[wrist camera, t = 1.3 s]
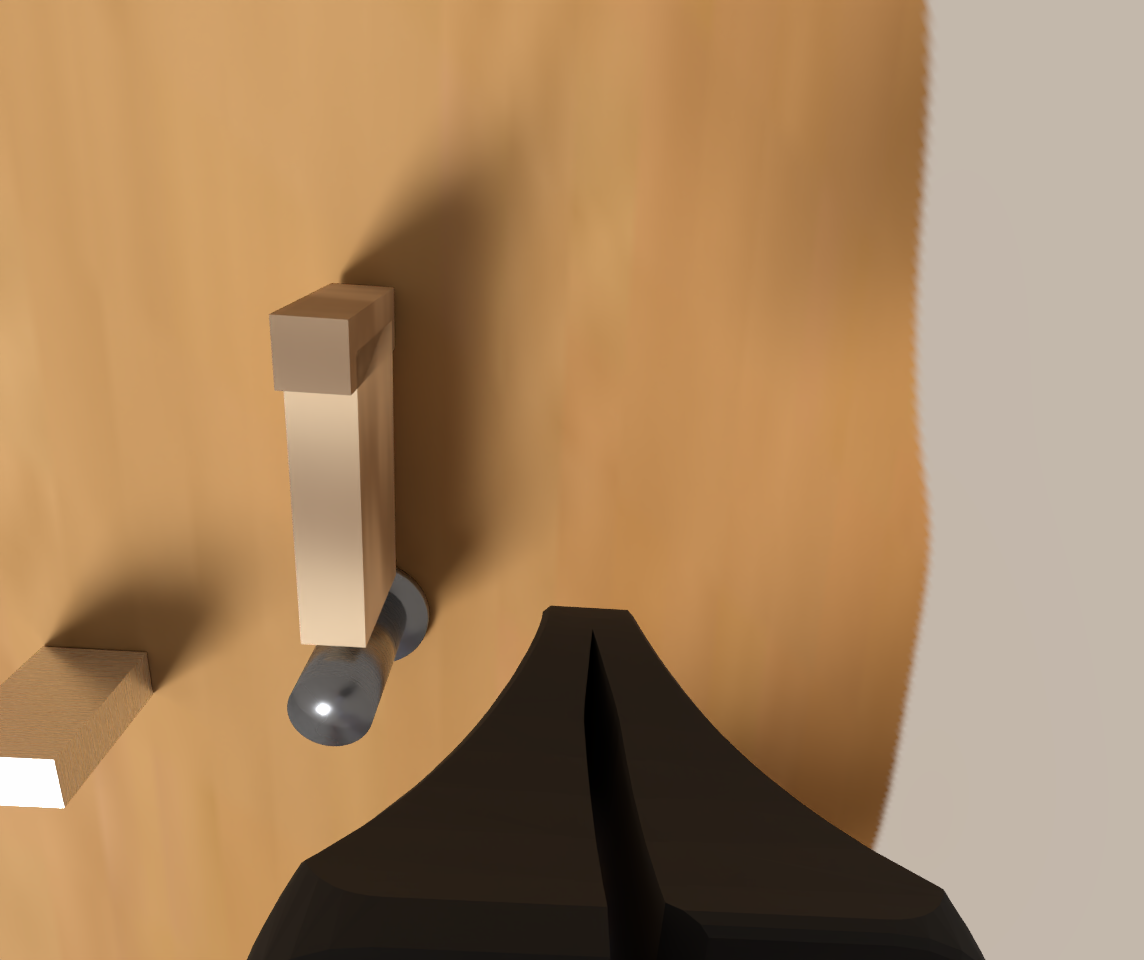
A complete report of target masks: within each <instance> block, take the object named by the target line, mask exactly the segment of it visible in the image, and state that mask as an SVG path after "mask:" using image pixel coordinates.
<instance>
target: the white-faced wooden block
mask: <svg viewBox="0 0 1144 960" xmlns="http://www.w3.org/2000/svg"><path fill="white" fill-rule="evenodd" d="M152 695H153V691H152V684H151V678H150V671H149V665H148V659H147V652H132V651H114V650H95V649H77V648H59V647H42V648H41V649H39V650H38V651H37V652H36V653H35V654H34V655H33V656H32V657H31V658H30V659H29V660H28V661H26V662H25V663H24V664H23V665H22V666H21V667H20V668H19V669H18V670H17V671H16V672H14V673H13V674H12V675H11V676H10V677H9V678H8V679H7V680H6V681H5V682H4V683H2V684H1V685H0V805H13V806H34V807H55V808H65V806H66V805H67V804H68V803H69V801H70V800H71V799H72V797H73V796H74V795H75V794H76V792H77V791H78V790H79V788H80V787H81V786H82V785H83V783H84V782H85V781H86V779H87V778H88V777H89V776H90V774H91V773H92V772H93V771H94V769H95V768H96V767H97V765H98V764H99V763H100V762H101V760H102V759H103V758H104V756H105V755H106V754H107V753H108V751H109V750H110V749H111V748H112V746H113V745H114V744H115V742H116V741H117V740H118V739H119V737H120V736H121V735H122V733H123V732H124V731H125V730H126V728H127V727H128V726H129V724H130V723H131V722H132V721H133V719H134V718H135V717H136V716H137V714H138V713H139V712H140V710H141V709H142V708H143V707H144V705H145V704H146V703H147V701H148V700H149V699H150V698H151V696H152Z"/></svg>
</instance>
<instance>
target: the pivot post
mask: <svg viewBox="0 0 1144 960" xmlns="http://www.w3.org/2000/svg"><path fill="white" fill-rule="evenodd" d="M429 616H430V612H429V605H428V601H427V598H426V596H425V594H424V592H423V590H422V589H421V587H420V586H419V584H418V583H417V582H416V581H415V580H414V579H413V578H412V577H410V576H409V575H408V574H407V573H405V572H403V571H402V570H400V569H398V568H396V576H395V578H394V581H393V583H392V586H391V588H390V590H389V593H388V595H387V598H386V600H385V602H384V605H383V607H382V610H381V612H380V614H379V617H378V619H377V622H376V624H375V626H374V629H373V631H372V634H371V636H370V639H369V641H368V643H367V646H366V648H363V647H345V646H327V645H316V647H315V649H314V651H313V653H312V654H311V656H310V658H309V660H308V662H307V664H306V666H305V668H304V670H303V672H302V674H301V676H300V678H299V679H298V681H297V683H296V685H295V687H294V689H293V691H292V693H291V695H290V697H289V700H288V704H287V711H288V716H289V719H290V721H291V723H292V724H293V726H294V727H295V729H296V730H297V731H298V732H299V733H300V734H301V735H303V736H304V737H306V738H307V739H309V740H311V741H313V742H315V743H318V744H322V745H327V746H343V745H348V744H351V743H353V742H355V741H357V740H359V739H360V738H362V737H363V736H364V735H365V734H366V733H367V732H368V730H369V729H370V727H371V724H372V722H373V719H374V716H375V713H376V710H377V707H378V704H379V701H380V699H381V696H382V693H383V690H384V687H385V684H386V681H387V678H388V676H389V673H390V670H391V667H392V664H393V661H396V660H399V659H401V658H403V657H405V656H407V655H408V654H410V653H411V652H413V651H414V650H415V649H416V648H417V647H418V645H419V644H420V643H421V641H422V640H423V638H424V636H425V633H426V630H427V627H428V623H429Z"/></svg>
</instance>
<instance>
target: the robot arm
mask: <svg viewBox="0 0 1144 960" xmlns="http://www.w3.org/2000/svg"><path fill="white" fill-rule="evenodd" d="M247 960H985V959H984V957H983V954H982V952H981V951H980V949H979V947H978V945H977V943H976V942H975V940H974V938H973V936H972V935H971V933H970V931H969V929H968V927H967V926H966V924H965V923H964V921H963V920H962V918H961V917H960V915H959V914H958V912H957V910H956V909H955V907H954V906H953V904H952V903H951V901H950V900H949V898H948V896H947V895H946V893H945V891H944V890H943V889H941V888H940V887H938V886H936V885H935V884H933V883H931V882H929V881H927V880H925V879H924V878H922V877H920V876H918V875H916V874H915V873H913V872H911V871H909V870H907V869H905V868H904V867H902V866H900V865H898V864H896V863H895V862H893V861H891V860H889V859H887V858H886V857H884V856H882V855H880V854H878V853H876V852H875V851H873V850H871V849H869V848H868V847H866V846H865V845H863V844H861V843H860V842H858V841H857V840H855V839H854V838H852V837H851V836H849V835H847V834H846V833H844V832H843V831H841V830H840V829H838V828H837V827H835V826H834V825H832V824H830V823H829V822H827V821H826V820H824V819H823V818H822V817H820V816H819V815H817V814H816V813H815V812H813V811H812V810H810V809H809V808H807V807H806V806H805V805H803V804H802V803H801V802H799V801H798V800H797V799H795V798H794V797H793V796H792V795H790V794H789V793H788V792H786V791H785V790H784V789H783V788H781V787H780V786H779V785H777V784H776V783H775V782H774V781H772V780H771V779H770V778H769V777H767V776H766V775H765V774H764V773H763V772H761V771H760V770H759V769H758V768H757V767H756V766H754V765H753V764H752V763H751V762H750V761H749V760H748V759H747V758H746V757H745V756H744V755H742V754H741V753H740V752H739V751H738V750H737V749H736V748H735V747H734V746H733V745H732V744H731V743H730V742H729V741H728V740H727V739H726V738H724V737H723V736H722V735H721V734H720V732H719V731H718V730H717V729H716V728H715V727H714V726H713V725H712V724H711V723H710V722H709V720H708V719H707V718H706V717H705V716H704V715H703V713H702V712H701V711H700V710H699V709H698V708H697V707H696V705H695V704H694V703H693V702H692V701H691V699H690V698H689V697H688V696H687V694H686V693H685V692H684V691H683V689H682V688H681V687H680V685H679V684H678V683H677V681H676V680H675V679H674V677H673V676H672V675H671V673H670V672H669V671H668V669H667V668H666V667H665V665H664V664H663V662H662V661H661V660H660V658H659V657H658V655H657V654H656V652H655V651H654V649H653V648H652V646H651V645H650V643H649V642H648V640H647V639H646V637H645V635H644V634H643V632H642V631H641V629H640V627H639V626H638V624H637V622H636V620H635V619H634V617H633V616H632V615H631V614H630V612H629V611H628V610H616V609H599V608H581V607H564V606H550V607H548V608H547V609H546V610H545V611H543V615H542V620H541V623H540V626H539V628H538V631H537V633H536V635H535V637H534V639H533V641H532V643H531V645H530V647H529V649H528V651H527V653H526V655H525V656H524V658H523V660H522V661H521V663H520V665H519V666H518V668H517V670H516V672H515V673H514V675H513V676H512V678H511V680H510V681H509V683H508V684H507V685H506V687H505V688H504V690H503V691H502V692H501V694H500V695H499V696H498V698H497V699H496V701H495V702H494V703H493V705H492V706H491V708H490V709H489V710H488V712H487V713H486V714H485V715H484V717H483V718H482V719H481V720H480V721H479V723H478V724H477V725H476V726H475V727H474V729H473V730H472V731H471V732H470V733H469V734H468V735H467V736H466V737H465V739H464V740H463V741H462V742H461V743H460V744H459V745H458V746H457V747H456V748H455V749H454V750H453V751H452V752H451V753H450V754H449V755H448V756H447V757H446V758H445V759H444V760H443V761H442V762H441V763H440V764H439V765H438V766H437V767H436V768H435V769H434V770H433V771H432V772H431V773H429V774H428V775H427V776H426V777H425V778H424V779H423V780H422V781H421V782H419V783H418V784H417V785H416V786H415V787H414V788H412V789H411V790H410V791H408V792H407V793H406V794H405V795H403V796H402V797H401V798H399V799H398V800H397V801H396V802H394V803H393V804H392V805H390V806H389V807H388V808H386V809H385V810H384V811H383V812H381V813H380V814H379V815H377V816H376V817H375V818H374V819H372V820H371V821H369V822H368V823H366V824H365V825H364V826H362V827H361V828H359V829H357V830H356V831H354V832H352V833H351V834H349V835H347V836H346V837H344V838H342V839H341V840H339V841H337V842H336V843H334V844H332V845H331V846H329V847H328V848H326V849H324V850H323V851H321V852H319V853H318V854H316V855H314V856H312V857H310V858H308V859H307V860H305V861H304V862H302V863H301V864H300V866H299V867H298V869H297V870H296V872H295V873H294V875H293V877H292V878H291V880H290V881H289V883H288V885H287V886H286V888H285V889H284V891H283V893H282V894H281V896H280V897H279V899H278V901H277V903H276V904H275V906H274V908H273V910H272V912H271V913H270V915H269V917H268V919H267V920H266V922H265V924H264V926H263V928H262V930H261V932H260V933H259V935H258V937H257V939H256V941H255V943H254V945H253V947H252V949H251V952H250V954H249V956H248V959H247Z"/></svg>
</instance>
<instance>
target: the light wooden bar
mask: <svg viewBox="0 0 1144 960" xmlns="http://www.w3.org/2000/svg"><path fill="white" fill-rule="evenodd" d="M269 321H270V335H271V348H272V362H273V375H274V389H275V391H284V404H285V419H286V433H287V448H288V462H289V477H290V491H291V506H292V520H293V535H294V549H295V564H296V578H297V592H298V607H299V621H300V636H301V644H309V645H327V646H345V647H363V648H366V646H367V643H368V641H369V639H370V636H371V634H372V631H373V629H374V626H375V624H376V622H377V619H378V617H379V614H380V612H381V610H382V607H383V605H384V602H385V600H386V598H387V595H388V593H389V590H390V588H391V586H392V583H393V581H394V578H395V576H396V549H395V485H394V420H393V355H392V351H393V350H394V349H395V320H394V287H381V286H367V285H353V284H338V283H331V284H329V285H327V286H325V287H323V288H321V289H319V290H317V291H315V292H313V293H311V294H309V295H307V296H305V297H303V298H301V299H299V300H297V301H295V302H293V303H291V304H289V305H287V306H285V307H283V308H281V309H279V310H277V311H275V312H273V313H271V314H269Z"/></svg>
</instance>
